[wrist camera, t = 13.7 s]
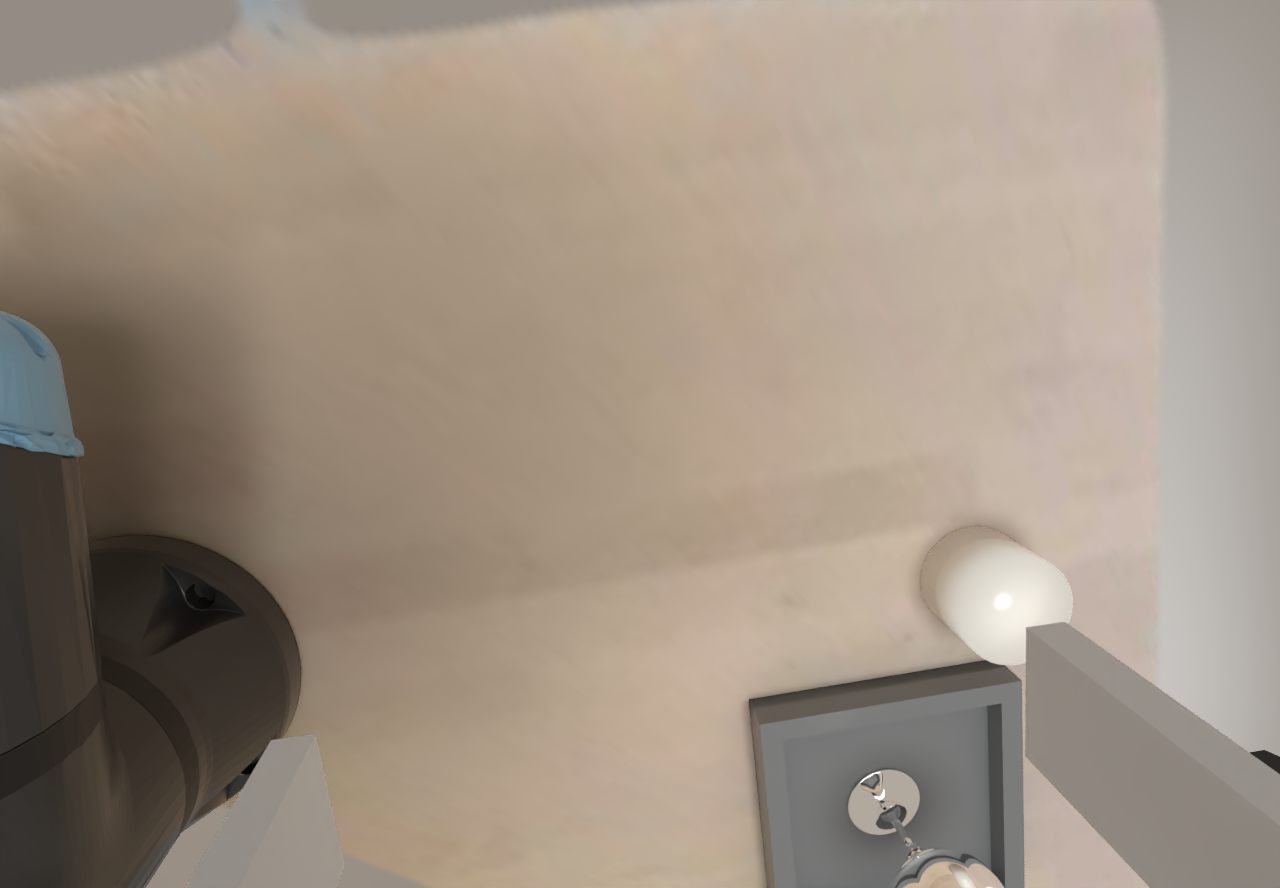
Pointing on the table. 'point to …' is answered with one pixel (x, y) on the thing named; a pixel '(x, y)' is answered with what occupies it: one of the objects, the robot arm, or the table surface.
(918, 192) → the table surface
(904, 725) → the tray
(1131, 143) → the table surface
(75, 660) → the robot arm
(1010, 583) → the white pillar candle
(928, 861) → the wineglass
